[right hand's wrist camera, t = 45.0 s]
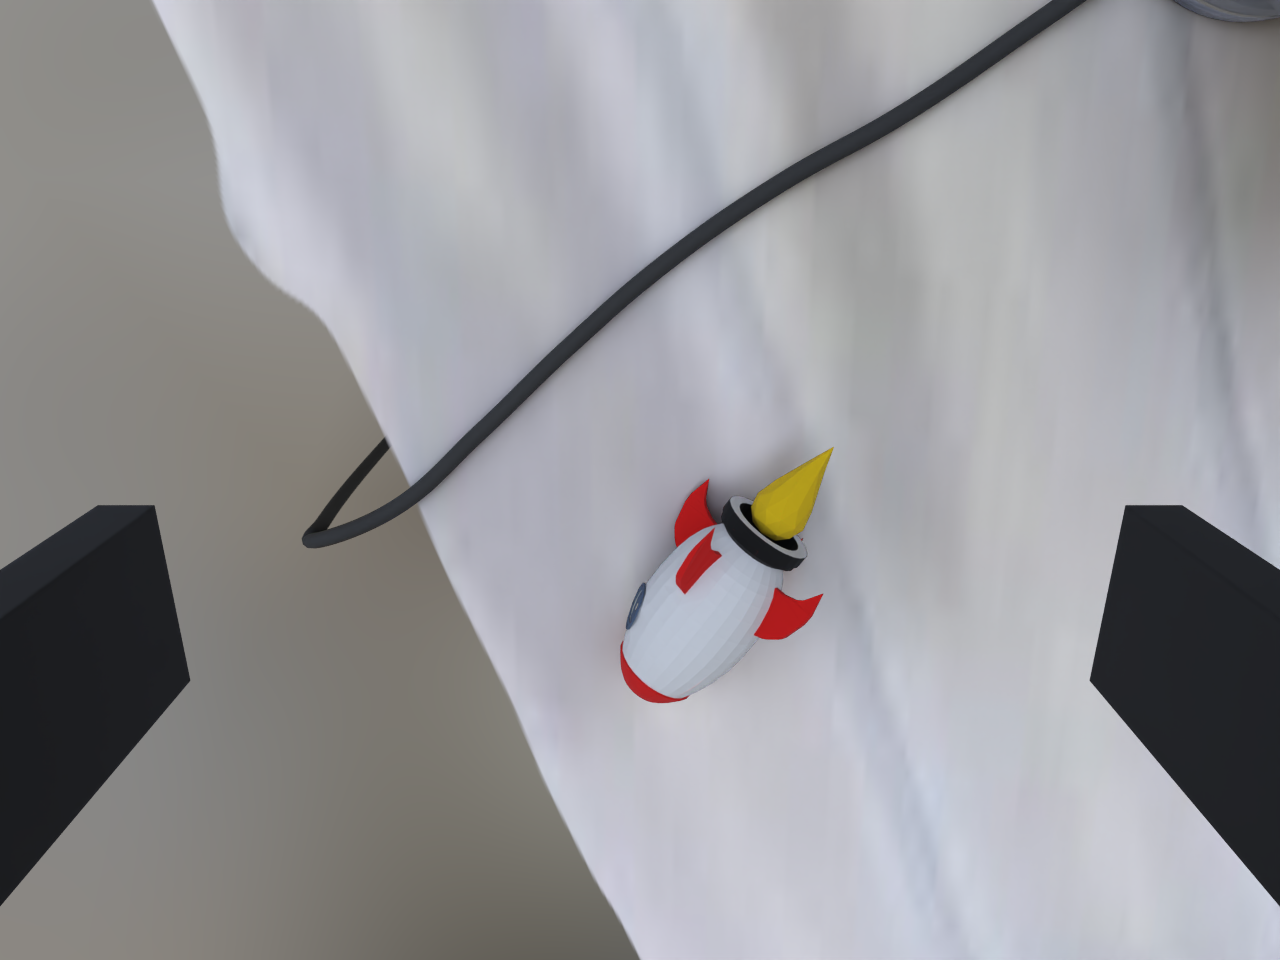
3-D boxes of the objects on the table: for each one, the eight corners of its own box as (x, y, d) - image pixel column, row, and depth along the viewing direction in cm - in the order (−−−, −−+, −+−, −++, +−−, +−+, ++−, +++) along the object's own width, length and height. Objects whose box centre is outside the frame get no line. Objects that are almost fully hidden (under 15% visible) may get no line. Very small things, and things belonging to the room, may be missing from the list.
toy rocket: (754, 409, 46) (552, 681, 52) (905, 520, 45) (682, 780, 52) (772, 385, 54) (596, 620, 61) (898, 477, 54) (707, 704, 61)
